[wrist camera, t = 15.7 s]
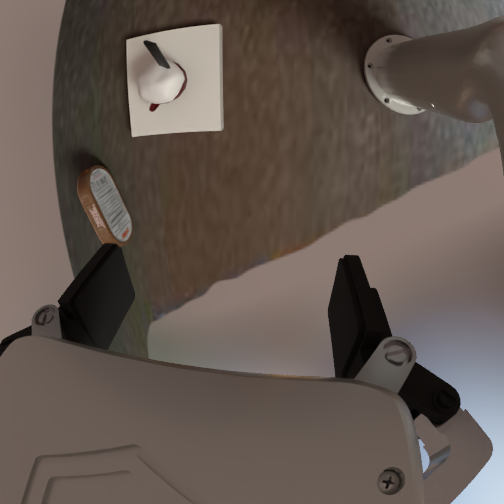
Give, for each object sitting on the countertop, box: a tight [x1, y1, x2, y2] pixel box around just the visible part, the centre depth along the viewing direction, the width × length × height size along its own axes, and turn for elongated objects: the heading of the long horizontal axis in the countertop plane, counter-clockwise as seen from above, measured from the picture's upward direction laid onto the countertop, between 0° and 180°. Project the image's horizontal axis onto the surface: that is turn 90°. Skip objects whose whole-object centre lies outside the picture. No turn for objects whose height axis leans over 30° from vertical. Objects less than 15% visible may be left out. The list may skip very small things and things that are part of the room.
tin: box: [77, 165, 133, 247], centre depth 42 cm, size 15×3×8 cm, turn 17°
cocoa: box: [137, 40, 187, 112], centre depth 28 cm, size 10×6×12 cm, turn 129°
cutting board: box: [126, 24, 224, 137], centre depth 34 cm, size 14×16×2 cm
